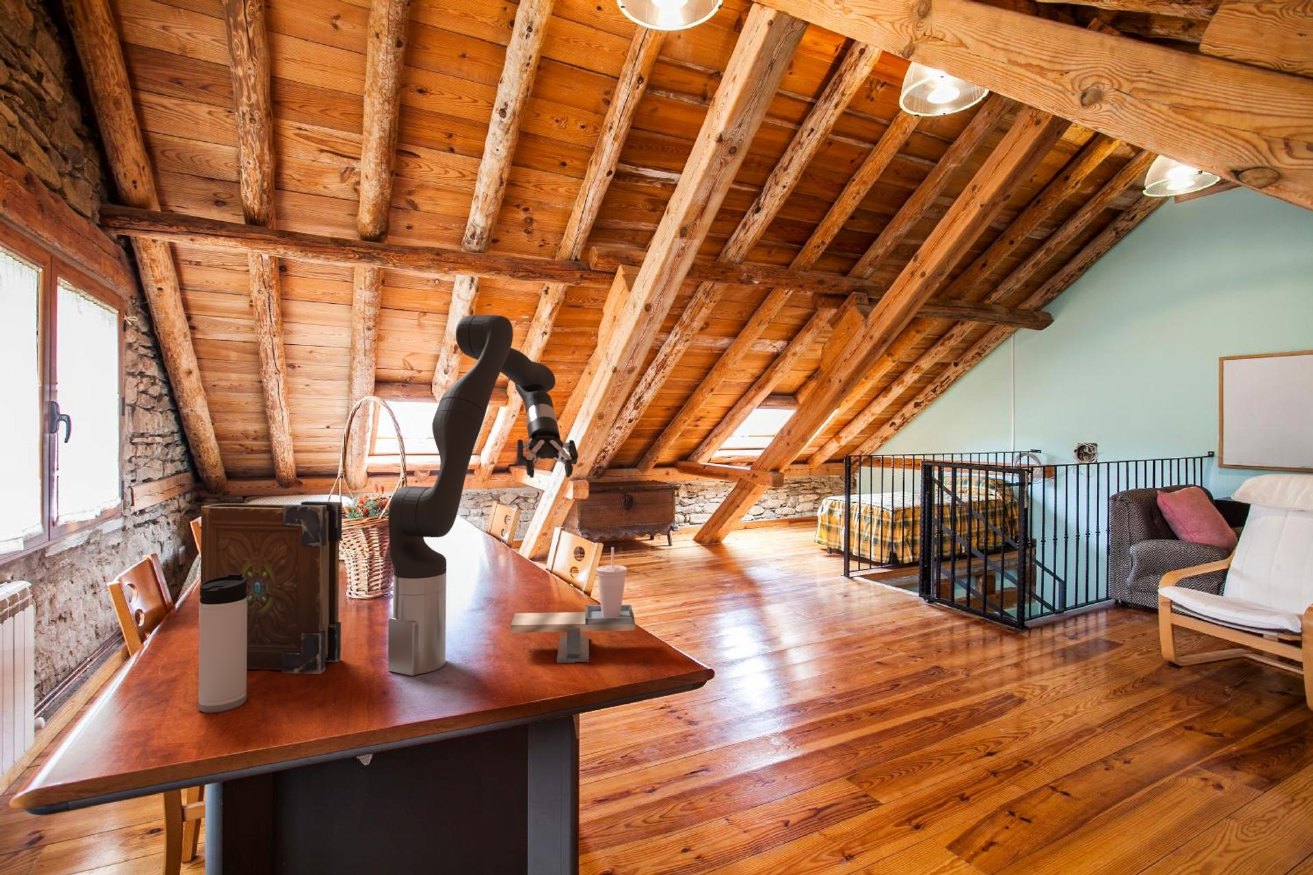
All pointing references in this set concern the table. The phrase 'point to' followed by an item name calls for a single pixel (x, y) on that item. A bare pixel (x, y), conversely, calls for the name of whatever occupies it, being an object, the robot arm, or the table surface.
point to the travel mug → (222, 643)
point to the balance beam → (573, 621)
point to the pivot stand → (573, 647)
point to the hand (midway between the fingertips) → (550, 475)
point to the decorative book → (281, 578)
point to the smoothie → (611, 587)
